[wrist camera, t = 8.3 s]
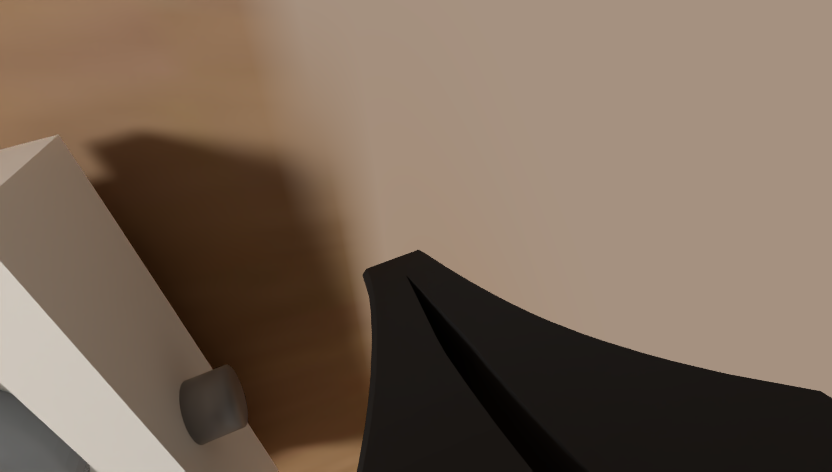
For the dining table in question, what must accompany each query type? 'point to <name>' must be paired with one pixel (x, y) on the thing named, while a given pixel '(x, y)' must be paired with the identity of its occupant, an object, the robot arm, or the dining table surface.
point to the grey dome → (32, 442)
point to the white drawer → (104, 333)
